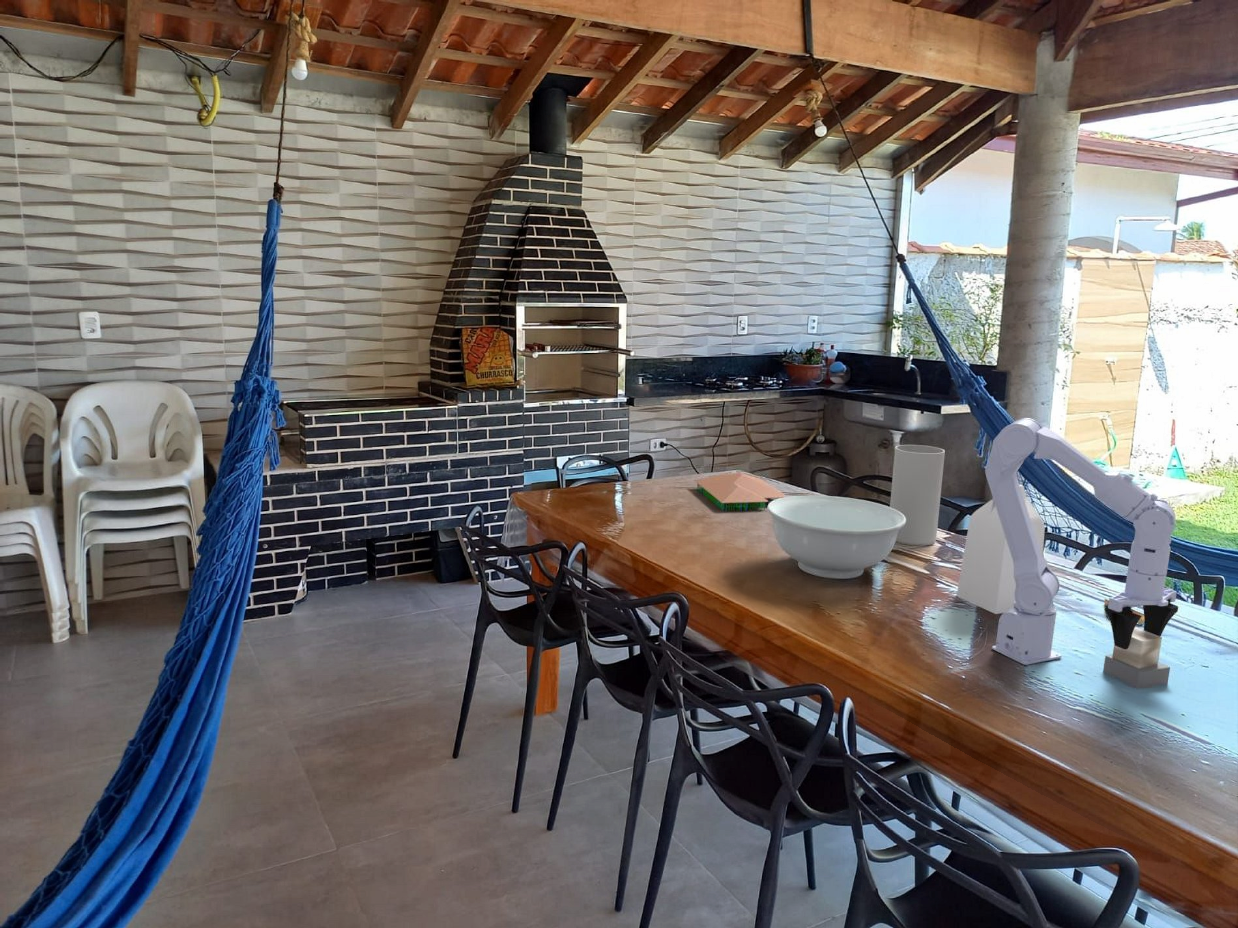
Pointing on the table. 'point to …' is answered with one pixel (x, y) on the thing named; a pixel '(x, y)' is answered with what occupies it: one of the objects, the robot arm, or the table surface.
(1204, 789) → the table surface
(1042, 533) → the milk
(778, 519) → the bowl
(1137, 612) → the shard
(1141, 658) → the cream cube
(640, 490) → the table surface
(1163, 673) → the gray base block
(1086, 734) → the table surface
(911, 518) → the cylinder vase
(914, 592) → the table surface
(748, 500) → the house
